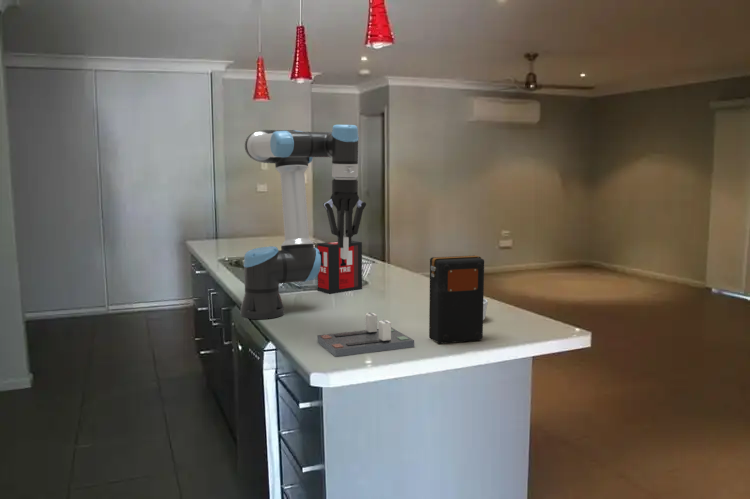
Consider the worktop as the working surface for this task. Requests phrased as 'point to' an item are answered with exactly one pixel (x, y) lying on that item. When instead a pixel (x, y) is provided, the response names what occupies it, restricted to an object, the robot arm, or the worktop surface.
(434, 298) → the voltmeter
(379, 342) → the breaker panel
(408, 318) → the worktop surface
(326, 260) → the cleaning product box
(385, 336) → the block
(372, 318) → the block
